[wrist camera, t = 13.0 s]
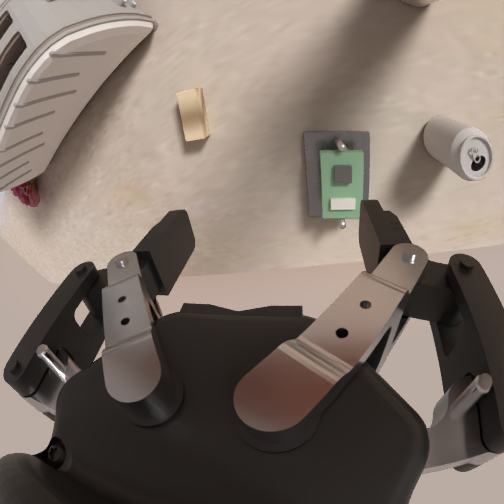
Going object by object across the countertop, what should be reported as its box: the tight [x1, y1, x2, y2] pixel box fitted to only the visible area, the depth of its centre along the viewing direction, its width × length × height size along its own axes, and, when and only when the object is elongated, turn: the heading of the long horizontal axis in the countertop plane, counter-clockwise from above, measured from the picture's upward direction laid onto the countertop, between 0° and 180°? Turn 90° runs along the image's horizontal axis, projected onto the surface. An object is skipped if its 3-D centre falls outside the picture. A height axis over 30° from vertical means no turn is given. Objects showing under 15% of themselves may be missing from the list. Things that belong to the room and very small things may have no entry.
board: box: [320, 150, 364, 219], centre depth 37 cm, size 10×6×2 cm, turn 8°
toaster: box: [0, 0, 158, 192], centre depth 26 cm, size 21×45×22 cm, turn 125°
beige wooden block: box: [176, 88, 210, 142], centre depth 37 cm, size 8×3×3 cm, turn 8°
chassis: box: [303, 131, 370, 229], centre depth 38 cm, size 14×10×6 cm
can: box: [423, 116, 494, 181], centre depth 28 cm, size 8×8×12 cm
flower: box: [11, 176, 40, 207], centre depth 48 cm, size 11×10×10 cm
